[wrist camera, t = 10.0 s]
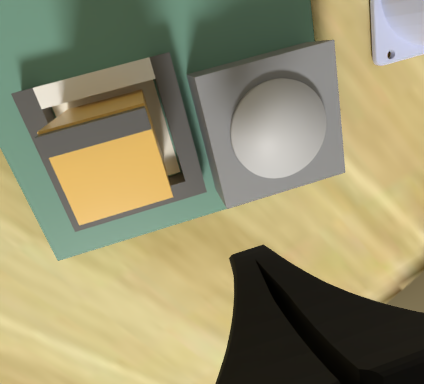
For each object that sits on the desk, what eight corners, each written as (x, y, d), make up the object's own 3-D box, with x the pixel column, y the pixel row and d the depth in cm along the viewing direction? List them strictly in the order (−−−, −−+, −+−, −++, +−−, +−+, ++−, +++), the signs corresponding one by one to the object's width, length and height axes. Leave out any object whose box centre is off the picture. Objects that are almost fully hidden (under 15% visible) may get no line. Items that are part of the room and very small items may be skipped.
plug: (142, 89, 18) (143, 104, 12) (163, 158, 20) (174, 202, 14) (67, 109, 18) (32, 135, 12) (95, 178, 20) (76, 232, 14)
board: (288, -119, 17) (334, -172, 13) (321, 172, 24) (359, 196, 20) (-83, -37, 16) (-160, -69, 12) (61, 252, 22) (44, 296, 18)
